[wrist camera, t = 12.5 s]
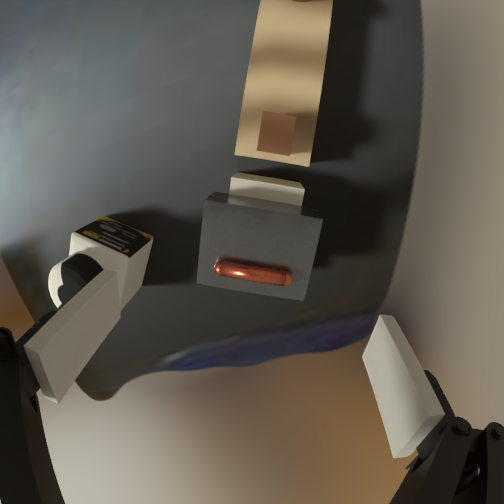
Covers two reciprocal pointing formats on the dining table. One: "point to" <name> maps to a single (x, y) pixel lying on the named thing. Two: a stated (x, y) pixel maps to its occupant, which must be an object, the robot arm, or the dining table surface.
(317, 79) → the cream wooden plank
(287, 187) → the block
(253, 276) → the lever cap
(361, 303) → the dining table surface
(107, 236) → the medicine bottle
